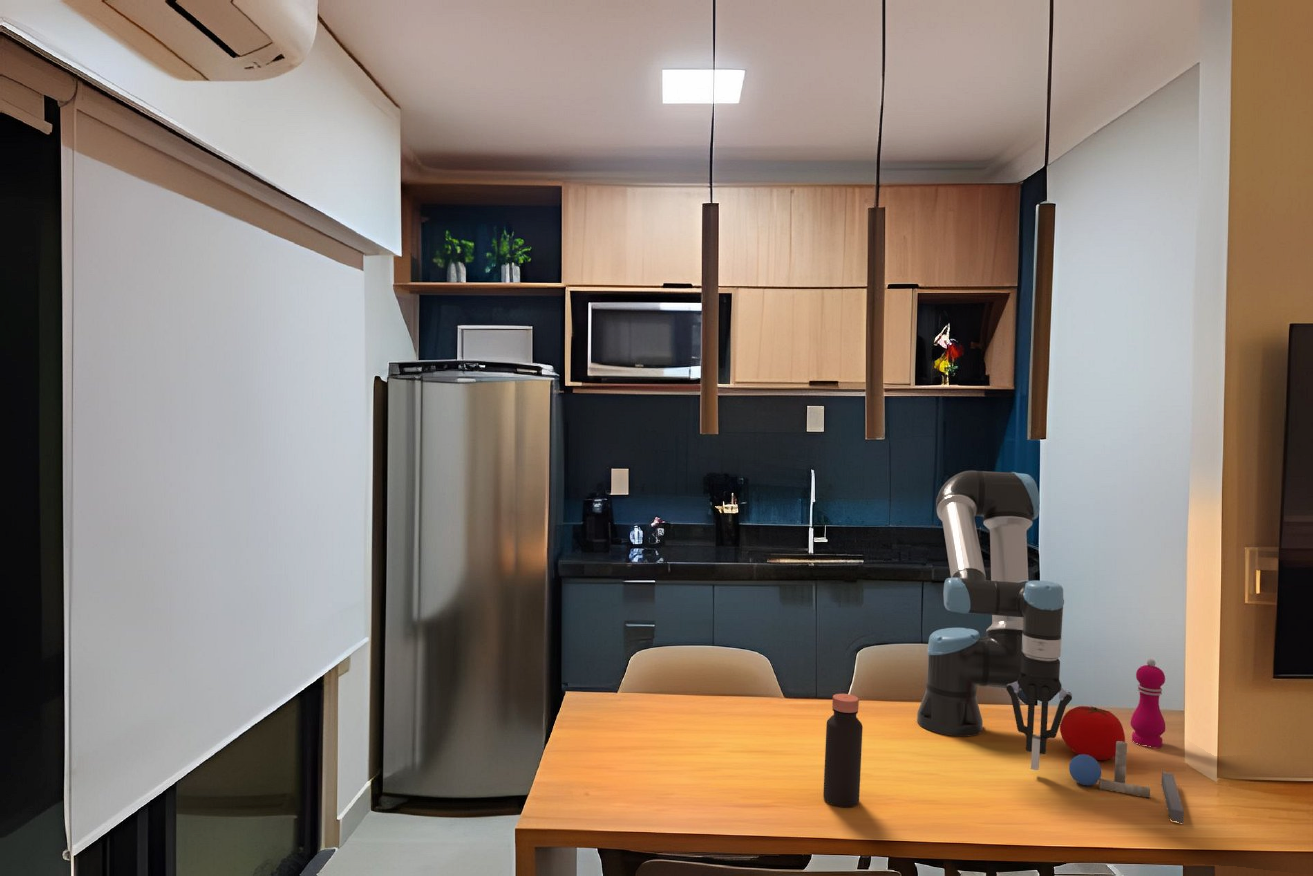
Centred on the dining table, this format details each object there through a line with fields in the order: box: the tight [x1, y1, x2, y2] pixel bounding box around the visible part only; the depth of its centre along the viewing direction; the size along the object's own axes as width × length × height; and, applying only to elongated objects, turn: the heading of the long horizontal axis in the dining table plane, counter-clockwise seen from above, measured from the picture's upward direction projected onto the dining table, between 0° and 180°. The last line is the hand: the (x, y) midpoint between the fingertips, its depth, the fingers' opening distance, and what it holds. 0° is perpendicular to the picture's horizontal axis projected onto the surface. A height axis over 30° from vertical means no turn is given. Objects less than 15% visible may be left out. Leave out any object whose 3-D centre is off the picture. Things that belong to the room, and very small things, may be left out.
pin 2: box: [1098, 778, 1151, 798], centre depth 178 cm, size 2×2×9 cm
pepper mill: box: [1130, 658, 1166, 748], centre depth 207 cm, size 7×7×20 cm
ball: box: [1068, 754, 1102, 786], centre depth 182 cm, size 6×6×6 cm
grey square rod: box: [1160, 771, 1185, 824], centre depth 174 cm, size 2×20×2 cm, turn 154°
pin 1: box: [1113, 741, 1128, 783], centre depth 182 cm, size 2×2×9 cm
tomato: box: [1059, 705, 1126, 761], centre depth 198 cm, size 12×13×11 cm
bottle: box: [822, 693, 864, 808], centre depth 169 cm, size 7×7×20 cm
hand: (1034, 767), depth 185 cm, fingers closed
